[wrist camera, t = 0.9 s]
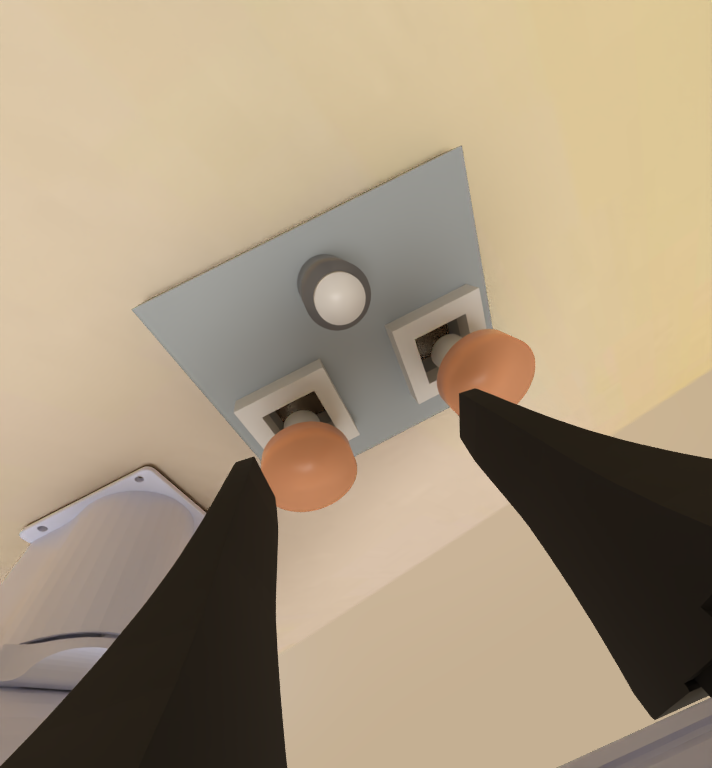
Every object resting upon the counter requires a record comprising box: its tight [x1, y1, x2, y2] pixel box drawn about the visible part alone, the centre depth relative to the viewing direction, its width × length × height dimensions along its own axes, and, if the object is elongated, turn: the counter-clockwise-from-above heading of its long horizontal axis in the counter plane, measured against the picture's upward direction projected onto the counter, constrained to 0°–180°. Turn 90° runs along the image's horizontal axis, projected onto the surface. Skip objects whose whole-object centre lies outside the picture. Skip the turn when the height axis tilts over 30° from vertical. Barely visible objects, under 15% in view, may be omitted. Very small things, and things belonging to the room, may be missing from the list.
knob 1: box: [261, 410, 357, 512], centre depth 16 cm, size 5×5×4 cm
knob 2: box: [431, 329, 535, 415], centre depth 17 cm, size 5×5×4 cm
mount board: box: [132, 146, 493, 460], centre depth 19 cm, size 18×15×3 cm
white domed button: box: [297, 254, 371, 331], centre depth 14 cm, size 3×3×4 cm
